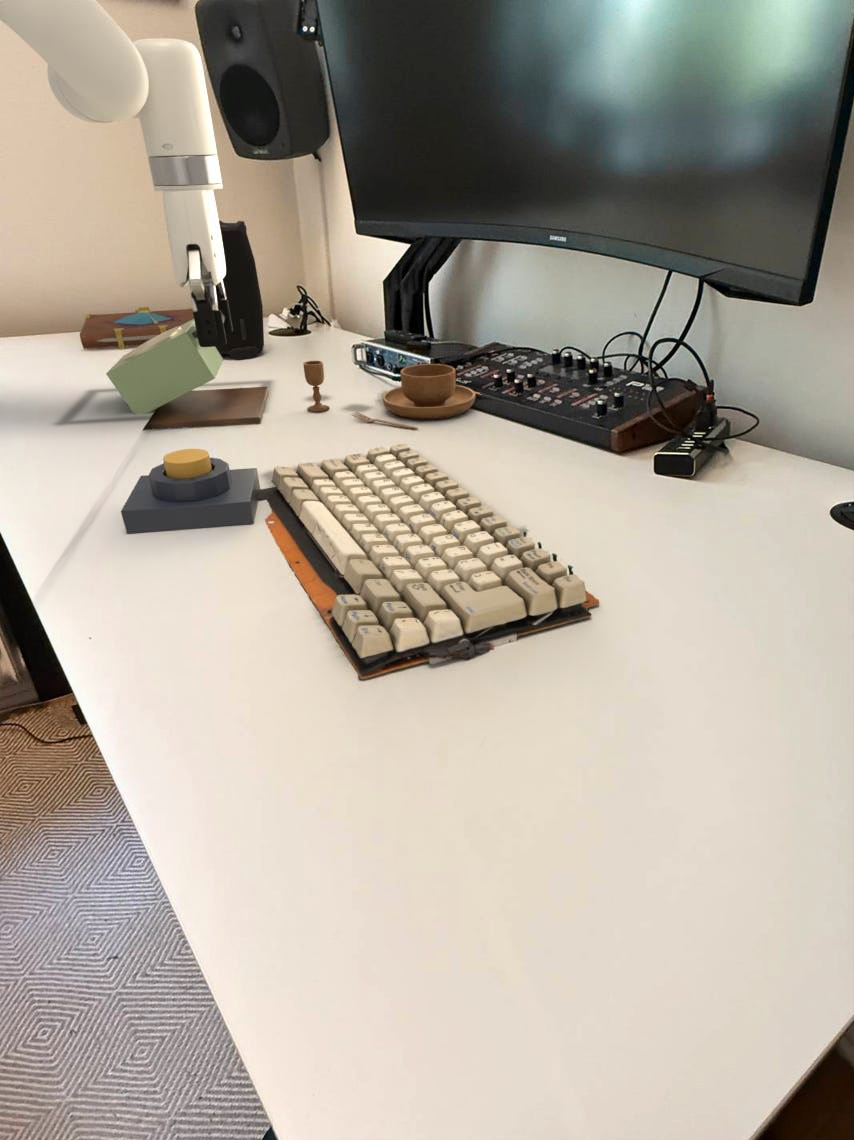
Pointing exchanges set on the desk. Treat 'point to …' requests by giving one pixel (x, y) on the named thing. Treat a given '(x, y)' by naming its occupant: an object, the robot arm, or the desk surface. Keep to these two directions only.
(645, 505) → the desk surface
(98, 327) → the book
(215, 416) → the brown wooden board
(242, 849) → the desk surface
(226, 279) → the portable speaker
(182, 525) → the grey mounting base
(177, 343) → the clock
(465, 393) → the place setting
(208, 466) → the bell button
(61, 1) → the robot arm
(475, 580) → the mechanical keyboard
